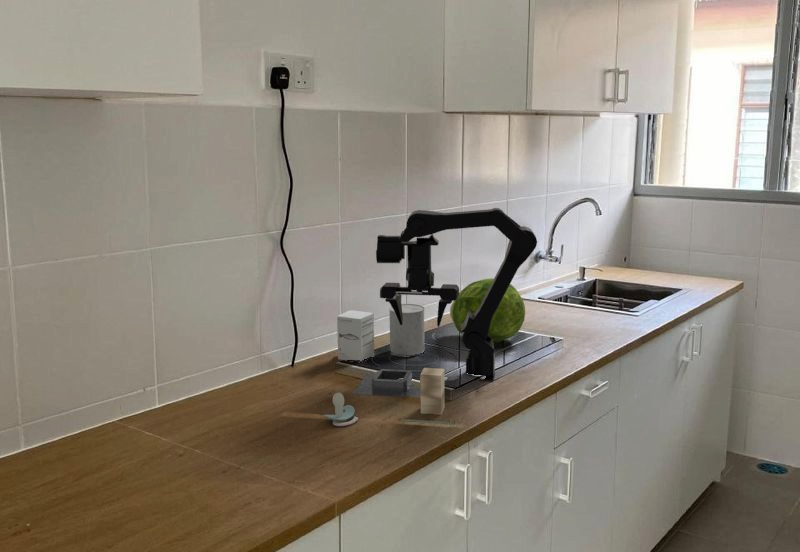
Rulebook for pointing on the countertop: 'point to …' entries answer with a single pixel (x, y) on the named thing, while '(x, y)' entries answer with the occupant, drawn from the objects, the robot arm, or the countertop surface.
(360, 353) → the supplement box
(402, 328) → the white stone cylinder
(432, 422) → the pad
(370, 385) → the pocket fixture
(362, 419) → the countertop surface
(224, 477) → the countertop surface
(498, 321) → the lettuce
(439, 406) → the maple block
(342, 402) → the pacifier
